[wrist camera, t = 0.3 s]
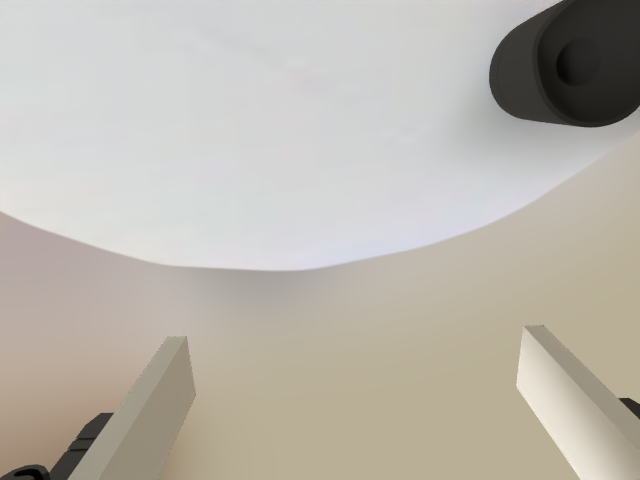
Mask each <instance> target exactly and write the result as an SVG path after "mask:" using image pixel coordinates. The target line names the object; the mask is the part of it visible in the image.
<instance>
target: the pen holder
mask: <svg viewBox="0 0 640 480" xmlns="http://www.w3.org/2000/svg"><path fill="white" fill-rule="evenodd" d="M489 82H490V88H491V91H492V94H493V96H494V99H495V100H496V102H497V103H498V105H499V106H500V107H501V108H502V109H503V110H504V111H506V112H507V113H509V114H510V115H512V116H514V117H517V118H521V119H525V120H532V121H538V122H546V123H554V124H562V125H571V126H579V127H601V126H606V125H610V124H613V123H616V122H618V121H621V120H622V119H624V118H626V117H628V116H629V115H630V114H632V113H633V112H634V111H635V110H636V109H637V108H638V107H639V106H640V0H563V1H561V2H559V3H557V4H556V5H554V6H552V7H550V8H548V9H546V10H545V11H543V12H541V13H539V14H537V15H535V16H534V17H532V18H530V19H529V20H527V21H525V22H524V23H522V24H520V25H519V26H517V27H516V28H514V29H513V30H512V31H511V32H510V33H509V34H508V35H506V36H505V38H504V39H503V40H502V41H501V43H500V44H499V46H498V47H497V49H496V51H495V53H494V55H493V58H492V61H491V65H490V72H489Z"/></svg>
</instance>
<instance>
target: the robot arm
mask: <svg viewBox="0 0 640 480" xmlns="http://www.w3.org/2000/svg"><path fill="white" fill-rule="evenodd" d="M516 387H517V388H518V390H519V391H520V392H521V394H522V395H523V397H524V398H525V400H526V401H527V402H528V404H529V405H530V407H531V408H532V410H533V411H534V413H535V414H536V416H537V417H538V418H539V420H540V421H541V423H542V424H543V425H544V427H545V428H546V430H547V431H548V433H549V434H550V436H551V437H552V438H553V440H554V441H555V443H556V444H557V445H558V447H559V449H560V450H561V452H562V453H563V455H564V456H565V457H566V459H567V460H568V462H569V463H570V465H571V466H572V467H573V469H574V470H575V472H576V473H577V475H578V476H579V477H580V479H581V480H640V404H639V403H637V402H635V401H633V400H632V399H630V398H617V397H616V396H615V395H614V394H613V393H612V392H611V391H610V390H609V389H608V388H607V387H606V386H605V385H604V384H603V383H602V382H601V381H600V380H599V379H598V378H597V377H596V376H595V375H594V374H593V373H592V372H590V370H588V368H586V367H585V366H584V365H583V364H582V363H581V362H580V361H579V360H578V359H577V358H576V357H575V356H574V355H573V354H572V353H571V352H570V351H569V350H568V349H567V348H566V347H565V346H564V345H563V344H562V343H561V342H560V341H559V340H558V339H557V338H556V337H555V336H554V335H553V334H552V333H551V332H550V331H549V330H548V329H547V328H546V327H545V326H544V325H539V326H538V325H537V326H523V334H522V343H521V352H520V359H519V368H518V376H517V386H516ZM195 396H196V393H195V387H194V380H193V374H192V367H191V361H190V355H189V349H188V342H187V337H186V336H183V337H167V338H166V340H165V341H164V343H163V344H162V345H161V347H160V348H159V350H158V351H157V353H156V354H155V355H154V357H153V358H152V360H151V361H150V363H149V364H148V365H147V367H146V368H145V370H144V371H143V373H142V374H141V375H140V377H139V378H138V380H137V381H136V382H135V384H134V385H133V387H132V388H131V390H130V391H129V392H128V394H127V395H126V397H125V398H124V400H123V401H122V403H121V404H120V405H119V407H118V408H117V410H116V411H115V412H114V413H100V414H99V415H98V416H97V417H95V418H94V419H93V420H91V421H90V422H89V423H88V424H86V425H85V427H84V428H83V429H82V431H81V432H80V433H79V435H78V436H77V437H76V440H75V441H73V442H72V444H71V445H70V446H69V448H68V449H67V452H65V453H64V454H63V455H62V457H61V458H60V459H59V461H58V462H57V464H56V465H55V466H54V467H53V468H52V470H51V471H50V473H49V472H48V471H47V469H46V468H45V467H44V466H41V465H27V466H24V467H21V468H18V469H15V470H13V471H11V472H9V473H8V474H6V475H4V476H2V477H1V478H0V480H157V479H158V477H159V475H160V473H161V470H162V468H163V466H164V464H165V462H166V460H167V457H168V455H169V453H170V451H171V449H172V446H173V444H174V442H175V440H176V437H177V435H178V433H179V431H180V429H181V427H182V425H183V422H184V420H185V418H186V416H187V414H188V411H189V409H190V407H191V404H192V403H193V400H194V398H195Z"/></svg>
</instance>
